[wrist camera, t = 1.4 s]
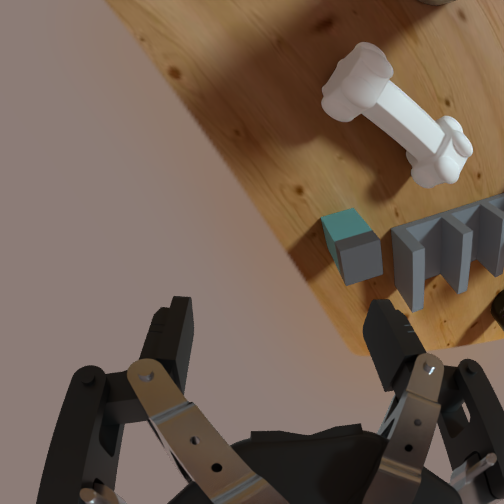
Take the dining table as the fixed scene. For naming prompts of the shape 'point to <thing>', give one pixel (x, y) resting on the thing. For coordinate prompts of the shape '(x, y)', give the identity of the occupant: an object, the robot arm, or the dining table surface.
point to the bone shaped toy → (396, 115)
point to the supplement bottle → (498, 309)
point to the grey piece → (448, 247)
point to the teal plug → (352, 246)
